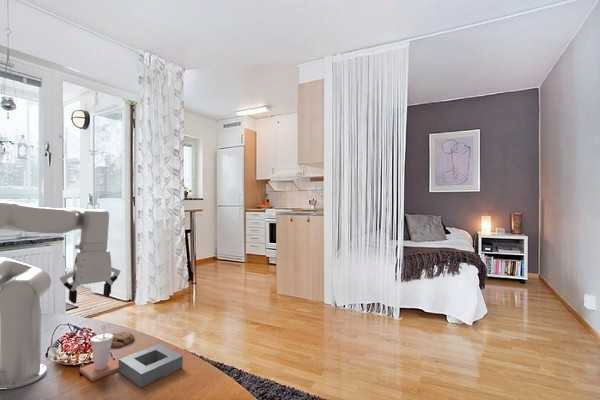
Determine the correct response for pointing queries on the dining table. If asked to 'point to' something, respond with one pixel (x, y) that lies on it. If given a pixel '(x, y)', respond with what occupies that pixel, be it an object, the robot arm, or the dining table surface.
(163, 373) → the box
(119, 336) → the cookie
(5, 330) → the robot arm
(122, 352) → the dining table surface
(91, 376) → the pad
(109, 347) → the smoothie
